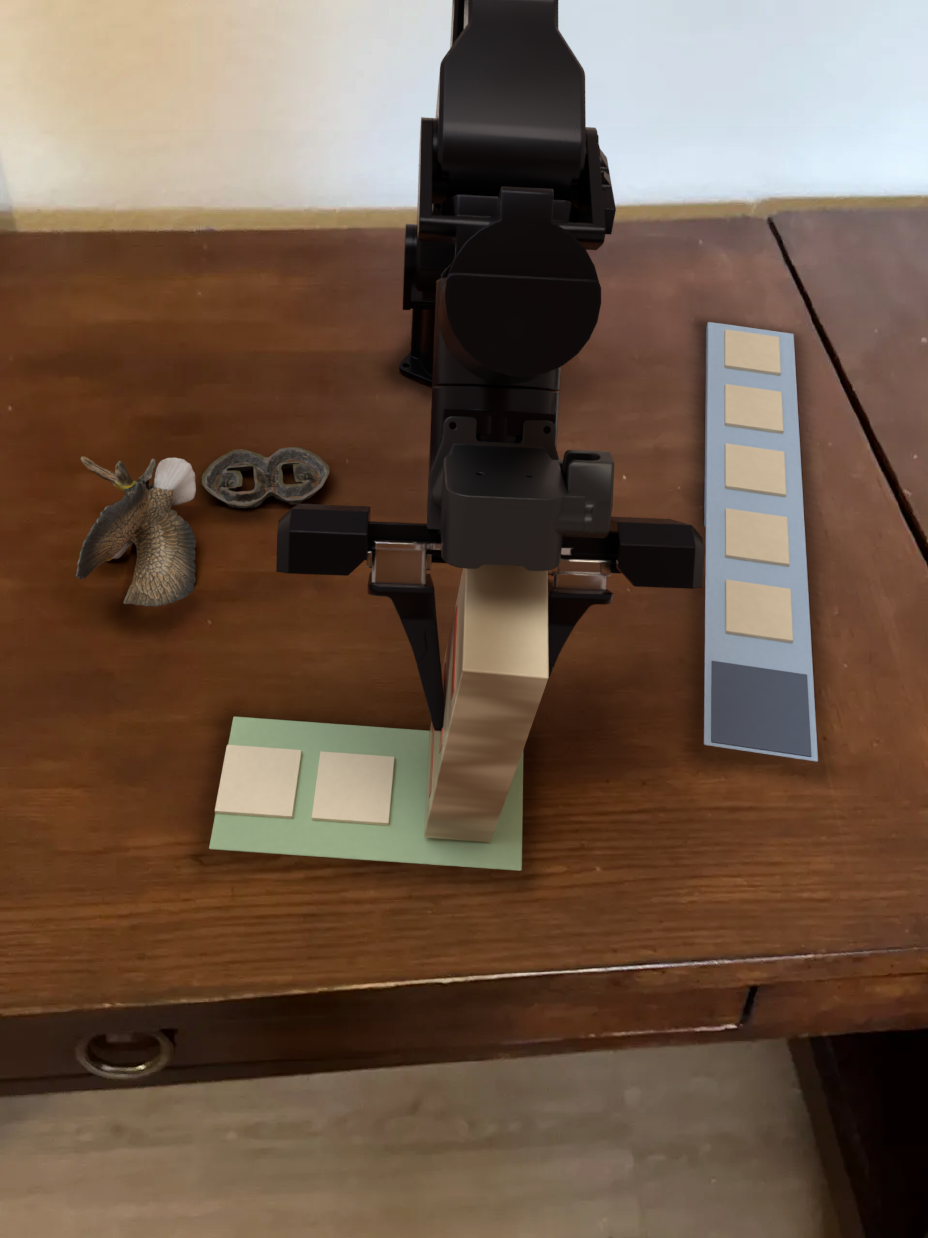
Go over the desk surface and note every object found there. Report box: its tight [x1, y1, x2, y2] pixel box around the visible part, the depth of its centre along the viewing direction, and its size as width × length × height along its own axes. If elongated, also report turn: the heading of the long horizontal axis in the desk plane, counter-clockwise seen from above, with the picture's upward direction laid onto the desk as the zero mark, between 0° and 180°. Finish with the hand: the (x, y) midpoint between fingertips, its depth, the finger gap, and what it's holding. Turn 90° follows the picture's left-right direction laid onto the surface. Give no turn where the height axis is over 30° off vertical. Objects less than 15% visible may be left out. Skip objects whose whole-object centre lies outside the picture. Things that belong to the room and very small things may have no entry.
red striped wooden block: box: [424, 565, 550, 842], centre depth 57 cm, size 4×6×17 cm, turn 179°
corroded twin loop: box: [201, 446, 331, 509], centre depth 77 cm, size 5×8×1 cm, turn 100°
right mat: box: [703, 321, 819, 763], centre depth 79 cm, size 37×6×1 cm, turn 173°
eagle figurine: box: [75, 455, 197, 608], centre depth 71 cm, size 8×7×9 cm
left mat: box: [208, 716, 524, 872], centre depth 64 cm, size 16×8×1 cm, turn 88°
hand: (479, 730), depth 56 cm, fingers closed on red striped wooden block, 3 cm apart
